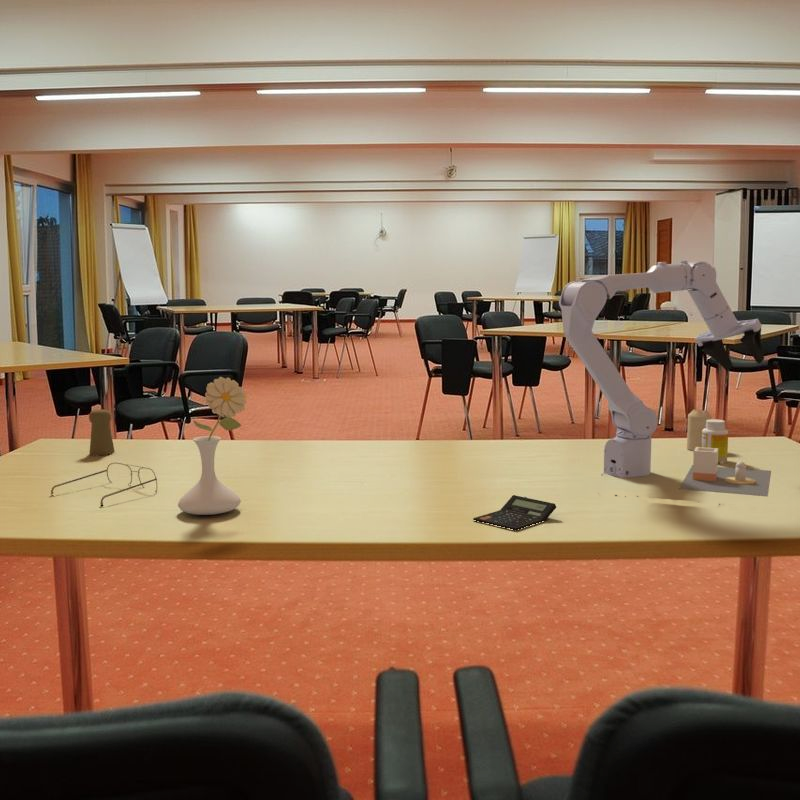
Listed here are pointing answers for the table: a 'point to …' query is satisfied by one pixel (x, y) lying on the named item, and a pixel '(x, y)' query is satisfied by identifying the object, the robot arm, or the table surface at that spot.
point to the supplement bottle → (716, 438)
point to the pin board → (732, 481)
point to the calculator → (519, 513)
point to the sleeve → (705, 464)
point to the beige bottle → (696, 428)
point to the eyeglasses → (110, 481)
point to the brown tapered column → (101, 433)
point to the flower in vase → (209, 490)
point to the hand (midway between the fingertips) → (745, 364)
